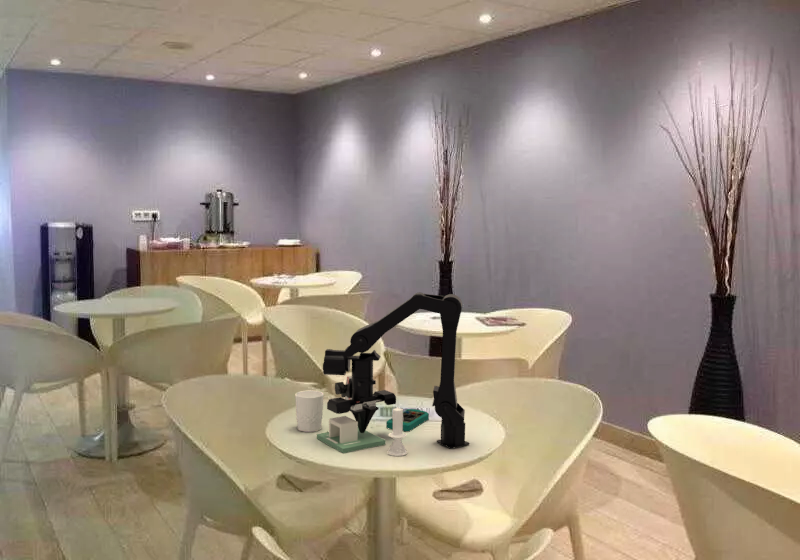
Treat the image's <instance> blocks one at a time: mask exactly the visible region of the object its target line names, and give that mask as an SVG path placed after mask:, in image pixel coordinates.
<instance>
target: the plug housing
mask: <svg viewBox="0 0 800 560" xmlns="http://www.w3.org/2000/svg"><path fill="white" fill-rule="evenodd" d="M328 432H329V437H330V438H331V437H336V436H340V443H346V442H351V441H357V439H358V422H357V421H356V420H355V419H353V418H350V417H348V416H347V415H343V416H337V417H331V418H329V419H328Z"/></svg>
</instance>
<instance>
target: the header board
mask: <svg viewBox="0 0 800 560" xmlns="http://www.w3.org/2000/svg"><path fill="white" fill-rule="evenodd" d="M316 439H317V440H318V441H321V442H322V443H324V444H325V445H327V446H329V447H331V448H333V449H334V450H336V451H338V452H340V453H341V454H346V453H351V452H356V451H362V450H366V449H371V448H375V447H381V446H386V443H387V442H386V441H387V440H386V439H384V438H382V437H380V436H378V435H376V434H374V433H372V432H370V431H368V430H367V429H366V430H365V432H364V433H360V431H359V428H358V439H357V441H351V442H346V443H340V436H336V437H331V438H330V437H329V431H327V432H323V433H322V432H321V433H317V434H316Z"/></svg>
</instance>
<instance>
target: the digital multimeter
mask: <svg viewBox="0 0 800 560" xmlns="http://www.w3.org/2000/svg"><path fill="white" fill-rule="evenodd" d="M429 415H430V413H428V412H427V411H426V410H425V411H424V410H421V409H417V408H416V409H412V408H407V409H405V410H403V432H406V431H409V432H411V431H412V430H414V429H415V428H417V427H418V426H420V425H421V424H423V423H425V422H426V420H427V421H428V420H429V417H430V416H429ZM424 421H425V422H424ZM385 423H386V429H388V428H389V430H393V419H392V417H391V418H389V419H388V420H386V422H385ZM419 424H420V425H419ZM416 426H417V427H416ZM413 428H414V429H413ZM410 430H411V431H410Z"/></svg>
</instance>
